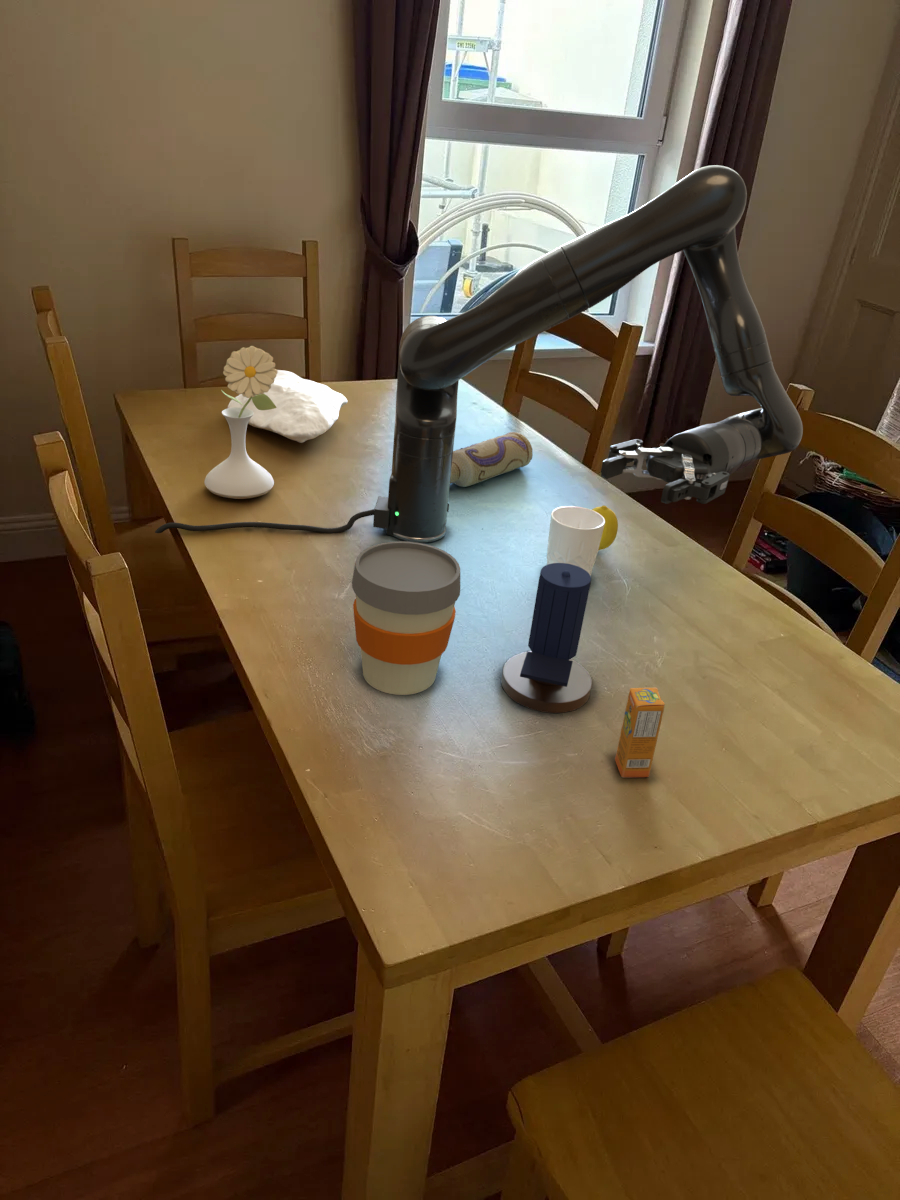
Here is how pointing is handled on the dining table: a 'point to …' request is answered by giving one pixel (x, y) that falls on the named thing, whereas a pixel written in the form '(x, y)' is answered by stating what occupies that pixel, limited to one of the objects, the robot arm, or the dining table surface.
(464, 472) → the decorative bottle
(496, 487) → the dining table surface
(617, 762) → the supplement box
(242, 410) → the flower in vase
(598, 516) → the white cup
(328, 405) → the crumpled cloth
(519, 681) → the paper towel holder
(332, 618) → the dining table surface
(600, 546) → the lemon
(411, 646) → the reusable coffee cup
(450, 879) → the dining table surface
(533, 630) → the navy lidded canister
